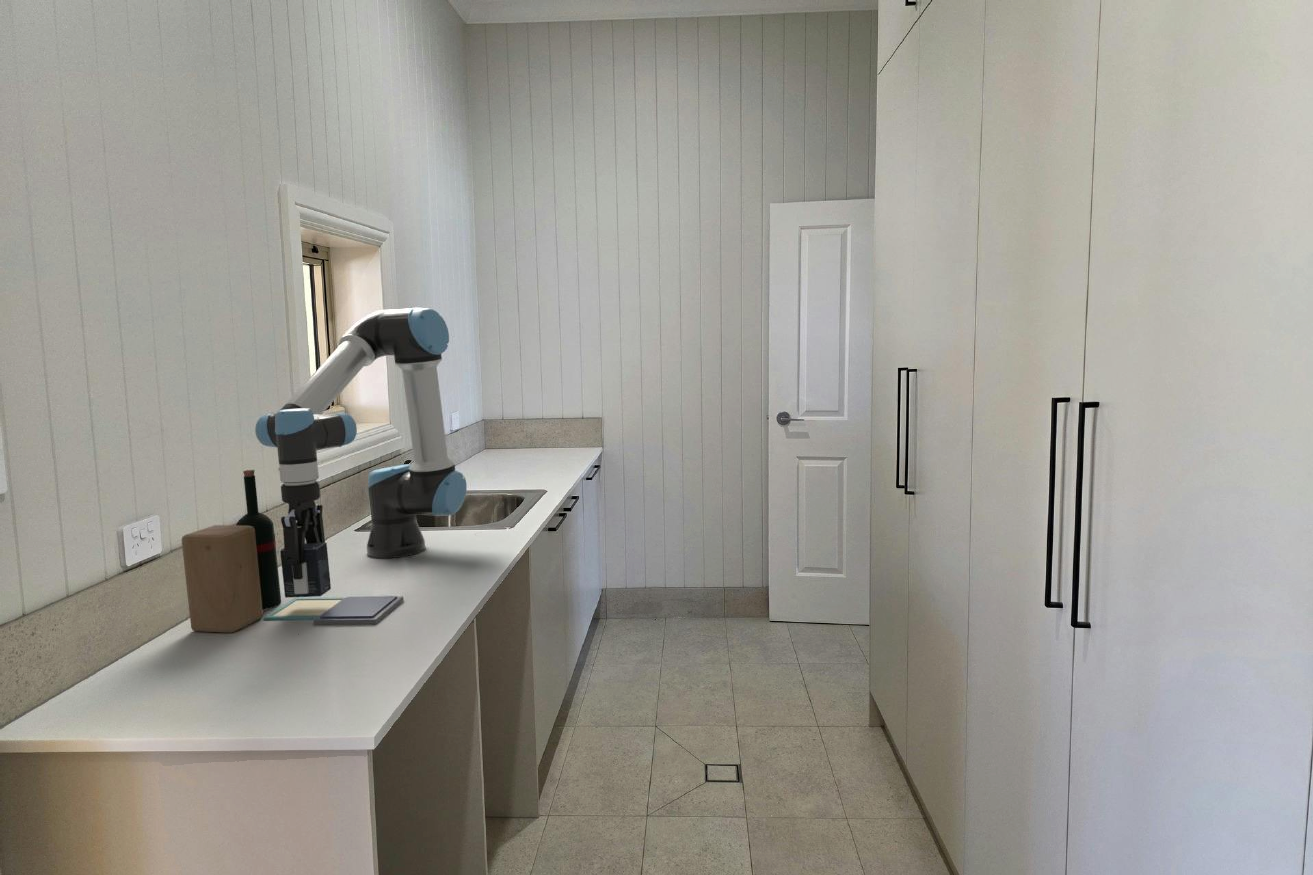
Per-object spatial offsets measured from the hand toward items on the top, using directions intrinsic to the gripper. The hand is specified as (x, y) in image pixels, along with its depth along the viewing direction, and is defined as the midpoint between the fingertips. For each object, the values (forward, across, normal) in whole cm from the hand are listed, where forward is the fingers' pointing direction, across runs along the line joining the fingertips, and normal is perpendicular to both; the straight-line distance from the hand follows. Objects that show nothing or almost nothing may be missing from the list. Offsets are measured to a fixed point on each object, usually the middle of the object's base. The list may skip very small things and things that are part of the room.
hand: (309, 588), depth 183 cm
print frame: (+5, 0, 0) cm, 5 cm away
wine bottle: (+5, -5, -13) cm, 15 cm away
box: (+1, 0, 0) cm, 1 cm away
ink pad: (+5, +2, +12) cm, 13 cm away
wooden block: (+5, +9, -13) cm, 17 cm away
